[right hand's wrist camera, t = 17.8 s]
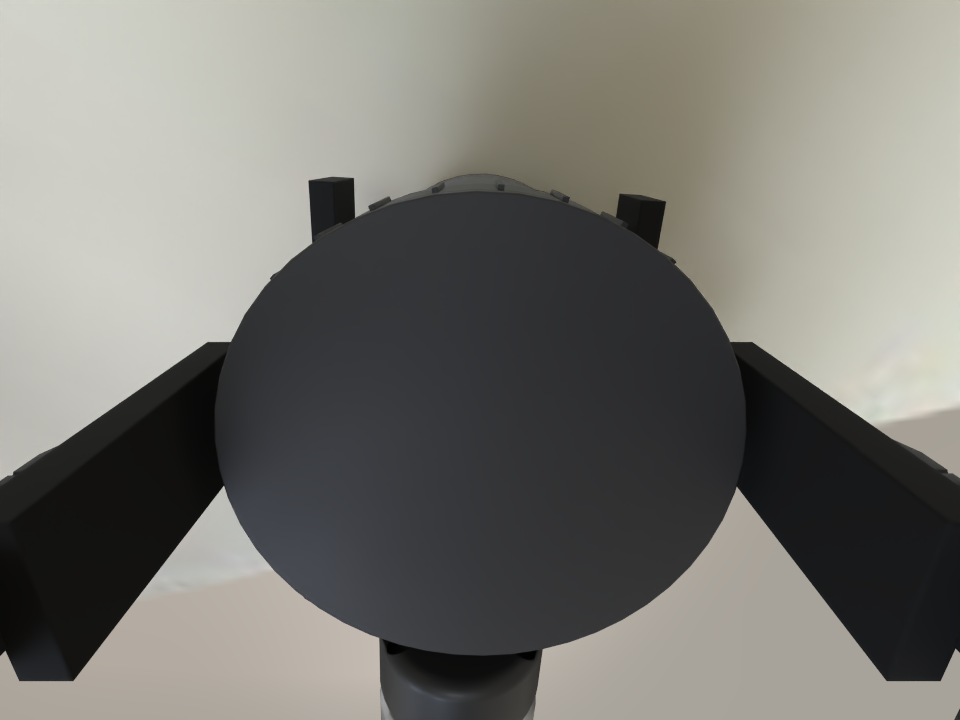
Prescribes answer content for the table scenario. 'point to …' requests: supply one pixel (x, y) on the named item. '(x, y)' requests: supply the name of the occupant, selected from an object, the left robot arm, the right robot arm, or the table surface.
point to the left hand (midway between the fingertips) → (487, 188)
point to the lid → (480, 421)
